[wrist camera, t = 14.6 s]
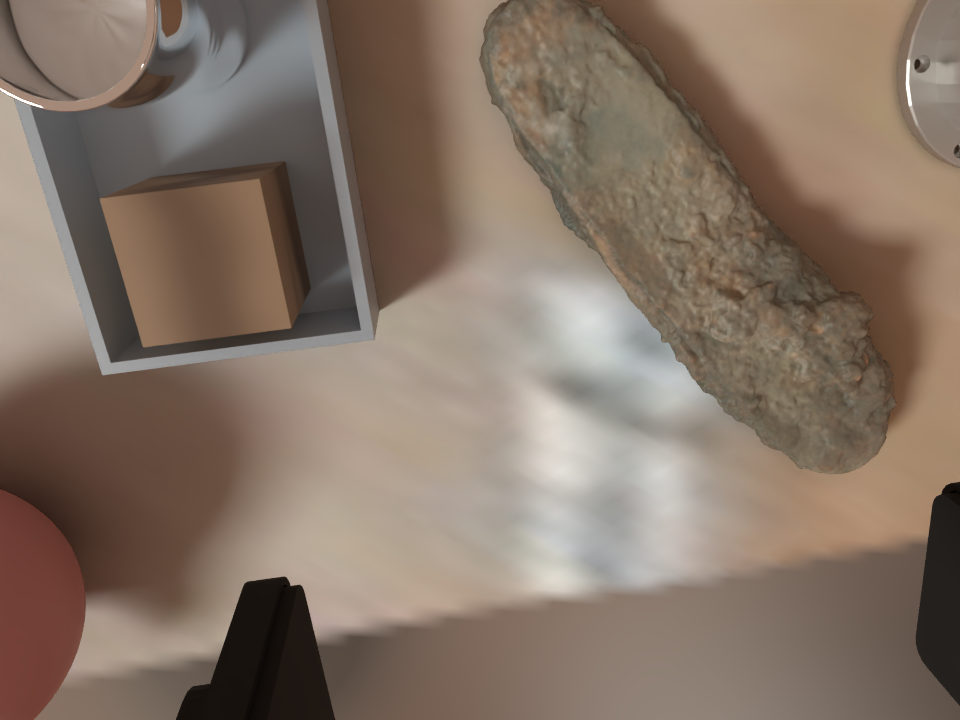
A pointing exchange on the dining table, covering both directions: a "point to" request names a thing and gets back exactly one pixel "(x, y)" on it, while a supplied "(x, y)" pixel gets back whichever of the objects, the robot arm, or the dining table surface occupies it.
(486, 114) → the dining table surface
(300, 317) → the tote
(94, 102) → the beer glass
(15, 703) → the balloon
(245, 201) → the walnut block
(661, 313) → the elongated rock
